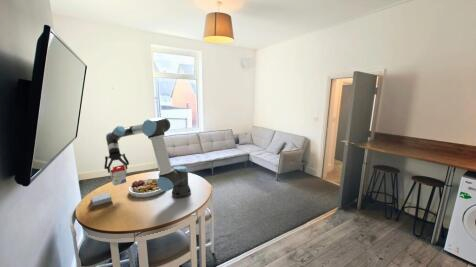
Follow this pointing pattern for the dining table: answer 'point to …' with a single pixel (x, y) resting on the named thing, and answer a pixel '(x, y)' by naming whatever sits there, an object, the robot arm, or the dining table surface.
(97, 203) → the tower top
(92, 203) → the tower base
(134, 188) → the bowl
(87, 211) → the dining table surface
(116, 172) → the ink box
